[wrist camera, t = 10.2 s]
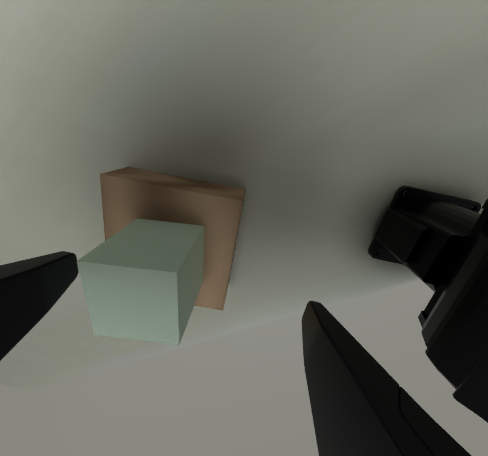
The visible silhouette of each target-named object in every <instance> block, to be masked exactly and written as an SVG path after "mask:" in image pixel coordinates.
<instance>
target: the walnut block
mask: <svg viewBox="0 0 488 456" xmlns="http://www.w3.org/2000/svg"><path fill="white" fill-rule="evenodd" d="M100 179H101V192H102V205H103V218H104V231H105V241H106V240H108V239H109V238H110V237H112V236H113V235H115V234H116V233H117V232H119V231H120V230H122V229H123V228H124V227H126V226H127V225H129V224H130V223H132V222H133V221H134V220H136V219H137V218H138V219H147V220H156V221H165V222H175V223H184V224H193V225H202V226H204V262H203V283H202V286H201V288H200V291H199V294H198V296H197V299H196V302H195V304H194V305H195V306H201V307H206V308H212V309H217V310H223V307H224V302H225V297H226V293H227V288H228V283H229V277H230V272H231V266H232V261H233V255H234V250H235V244H236V239H237V233H238V228H239V222H240V217H241V211H242V206H243V200H244V195H245V190H246V189H241V188H236V187H231V186H225V185H220V184H215V183H210V182H204V181H199V180H194V179H188V178H183V177H178V176H173V175H167V174H162V173H157V172H152V171H146V170H141V169H136V168H131V167H126V168H122V169H118V170H114V171H111V172H107V173H103V174H100Z"/></svg>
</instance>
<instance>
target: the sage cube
mask: <svg viewBox="0 0 488 456" xmlns="http://www.w3.org/2000/svg"><path fill="white" fill-rule="evenodd" d="M203 262H204V226H202V225H193V224H184V223H175V222H165V221H156V220H147V219H138V218H137V219H136V220H134V221H133V222H132V223H130V224H129V225H127V226H126V227H124V228H123V229H122V230H120V231H119V232H117V233H116V234H115V235H113V236H112V237H110V238H109V239H108V240H106V241H105V242H103V243H102V244H100V245H99V246H98V247H96V248H95V249H93V250H92V251H91V252H89V253H88V254H86V255H85V256H83V257H82V258H81V259H79V260H78V261H77V264H78V268H79V273H80V277H81V281H82V285H83V290H84V294H85V298H86V302H87V306H88V311H89V315H90V319H91V323H92V328H93V332H94V335H100V336H108V337H117V338H125V339H133V340H141V341H150V342H158V343H166V344H174V345H179V344H180V341H181V339H182V336H183V333H184V331H185V328H186V326H187V323H188V320H189V318H190V315H191V312H192V310H193V307H194V304H195V302H196V299H197V296H198V294H199V291H200V288H201V286H202V283H203Z"/></svg>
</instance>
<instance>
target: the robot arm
mask: <svg viewBox="0 0 488 456" xmlns="http://www.w3.org/2000/svg"><path fill="white" fill-rule="evenodd" d="M406 190H407V194H405V195H403V194H404V192H405V191H406ZM472 206H473V208H472V209H471V207H472ZM482 208H483V209H484V210H483V211H482V213H481V214H480V213H478V212H479V210H480V209H481V204H480V203H478V202H475V201H471V200H466V199H462V198H458V197H453V196H449V195H444V194H440V193H435V192H431V191H427V190H422V189H418V188H413V187H409V186H403V187H401V188H400V189H399V190H398V192H397V194H396V196H395V198H394V200H393V202H392V204H391V206H390V208H389V210H387V212H386V214H385V216H384V218H383V220H382V222H381V224H380V226H379V228H378V230H377V232H376V234H375V238H374V240H373V242H372V245H371V247H370V249H369V251H368V253H369V255H370V256H371V257H372V258H376V259H380V260H385V261H389V262H394V263H399V264H403V265H405V266H406V267H408V268H409V269H410V270H411V271H412V272H413V273H414V274H415V275H416V276H418V277H419V278H420V279H421V280H422V281H423V282H424V283H425V284H426V285H428V286H429V287H430V288H431V289H432V290H433V291H434V292H435V293H434V295H433V297H432V298H431V300H430V301H429V303H428V305H427V307H426V308H425V310H424V311H421V313H420V315H419V316H418V318H419V321H420V323H421V326H422V328H423V329H422V335H423V338H424V341H425V344H426V346H427V350H426V351H425V352H426V355H427V356H428V358H429V359H430V361H431V362H432V363H433V365H434V366H435V367H436V369H437V370H438V371H439V372H440V373H441V374H442V375H443V376H444V377H445V378H446V379H447V380H448V381H449V382H450V383H451V385H452V386H453V387H454V388H455V389H456V391H455V392H454V393H453V397H454V398H455V399H456V400H457V401H458V402H460V403H461V404H462V405H464V406H465V407H467V408H468V409H470V410H471V411H473V412H474V413H475V414H477V415H478V416H480V417H481V418H483V419H484V420H485V421H486V422H488V199H487V200H486V201H485V203H484V205H483V207H482ZM375 251H377V252H376V253H375V254H373V253H374V252H375ZM77 275H78V265H77V258H76V255H75V254H74V253H70V252H65V251H61V252H57V253H53V254H48V255H44V256H39V257H35V258H31V259H26V260H22V261H18V262H13V263H9V264H5V265H0V361H1V360H2V359H3V358H4V357H5V356H6V354H7V353H8V352H9V351H10V350H11V349H12V348H13V347H14V346H15V345H16V344H17V343H18V342H19V341H20V340H21V339H22V338H23V337H24V336H25V335H26V334H27V333H28V332H29V331H30V330H31V329H32V328H33V327H34V326H35V325H36V324H37V323H38V322H39V321H40V320H41V319H42V318H43V317H44V316H45V315H46V313H47V312H48V311H49V310H50V309H51V308H52V307H53V305H54V304H55V303H56V302H57V301H58V299H59V298H60V297H61V296H62V294H63V293H64V292H65V291H66V290H67V288H68V287H69V286H70V285H71V283H72V282H73V281H74V280H75V279H76V277H77ZM302 337H303V355H304V366H305V373H306V379H307V385H308V391H309V397H310V403H311V409H312V415H313V422H314V427H315V434H316V440H317V446H318V452H319V456H471V455H470V454H469V453H468V452H467V451H466V450H465V449H464V448H463V447H462V446H461V445H459V444H458V443H457V442H456V441H455V440H454V439H453V438H452V437H451V436H450V435H449V434H448V433H447V432H446V431H445V430H444V429H443V428H442V427H441V426H439V424H438V423H436V422H435V421H434V420H433V419H432V418H431V417H430V416H429V415H428V414H427V413H426V412H425V411H424V410H423V409H422V408H421V407H420V406H419V405H418V404H417V403H416V402H415V401H414V399H413V398H412V397H411V396H410V395H408V393H407V392H406V391H405V390H404V389H403V388H402V387H399V384H398V383H397V382H396V381H395V380H394V379H393V378H392V377H391V376H390V375H389V374H388V373H387V372H386V370H385V369H384V368H383V367H382V366H381V365H380V364H379V363H378V362H377V361H376V360H375V359H374V358H373V357H372V356H371V355H370V354H369V353H368V352H367V351H366V350H365V349H364V348H363V347H362V346H361V344H360V343H359V342H357V340H356V339H355V338H354V337H353V336H352V335H351V334H350V333H349V332H348V331H347V330H346V329H345V328H344V327H343V326H342V325H341V324H340V323H339V322H338V321H337V320H336V319H335V318H334V316H333V315H332V314H331V313H329V311H328V310H327V309H326V308H325V307H324V306H323V305H322V304H321V303H319V302H315V301H309V302H308V304H307V306H306V309H305V311H304V314H303V317H302Z"/></svg>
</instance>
